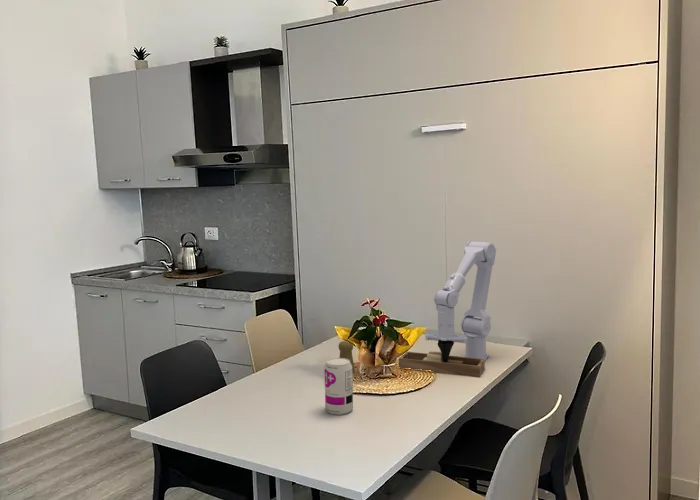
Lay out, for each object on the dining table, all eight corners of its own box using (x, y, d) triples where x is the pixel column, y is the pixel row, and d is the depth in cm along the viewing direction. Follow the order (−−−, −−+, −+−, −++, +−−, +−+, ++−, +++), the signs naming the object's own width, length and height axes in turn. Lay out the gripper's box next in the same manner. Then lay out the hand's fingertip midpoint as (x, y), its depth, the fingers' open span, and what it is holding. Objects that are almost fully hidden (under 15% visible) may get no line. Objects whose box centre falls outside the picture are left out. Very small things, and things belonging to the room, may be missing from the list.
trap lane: (406, 361, 232) (406, 351, 232) (484, 369, 221) (484, 359, 221) (398, 368, 223) (398, 358, 223) (479, 377, 212) (479, 366, 212)
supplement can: (333, 417, 180) (331, 367, 178) (321, 408, 187) (319, 360, 185) (357, 412, 184) (356, 363, 182) (345, 403, 191) (344, 355, 189)
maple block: (430, 358, 226) (430, 350, 226) (444, 360, 224) (444, 352, 224) (426, 362, 221) (426, 354, 221) (440, 364, 219) (440, 356, 219)
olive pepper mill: (355, 369, 224) (355, 339, 223) (354, 374, 218) (353, 344, 217) (338, 369, 224) (338, 339, 223) (336, 374, 219) (336, 343, 217)
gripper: (423, 324, 219) (423, 362, 220) (464, 328, 213) (463, 366, 215) (428, 320, 225) (428, 356, 227) (468, 323, 220) (468, 360, 221)
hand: (446, 361), depth 221 cm, fingers closed
